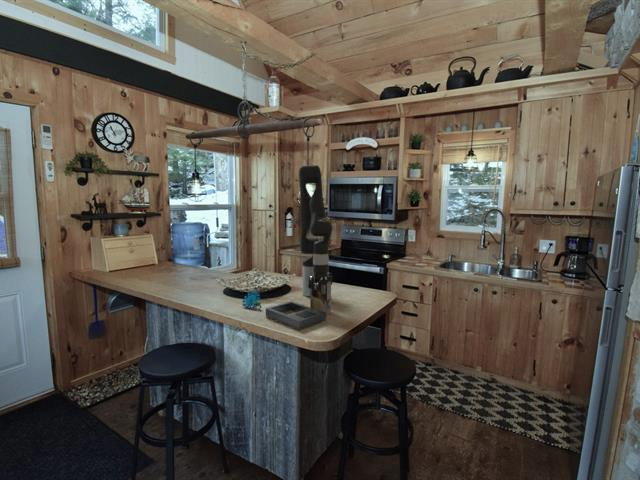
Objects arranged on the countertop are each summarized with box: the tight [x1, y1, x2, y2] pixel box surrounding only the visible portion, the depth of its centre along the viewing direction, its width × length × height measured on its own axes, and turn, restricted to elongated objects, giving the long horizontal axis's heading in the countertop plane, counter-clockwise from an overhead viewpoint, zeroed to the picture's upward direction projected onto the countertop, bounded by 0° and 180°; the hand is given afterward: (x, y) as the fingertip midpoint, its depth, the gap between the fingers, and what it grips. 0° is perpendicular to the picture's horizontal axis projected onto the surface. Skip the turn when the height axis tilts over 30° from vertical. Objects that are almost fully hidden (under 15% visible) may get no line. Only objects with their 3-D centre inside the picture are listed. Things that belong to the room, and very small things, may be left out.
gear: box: [242, 291, 262, 310], centre depth 177 cm, size 11×6×10 cm
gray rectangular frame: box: [265, 300, 327, 331], centre depth 159 cm, size 16×24×4 cm, turn 45°
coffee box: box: [309, 280, 332, 316], centre depth 168 cm, size 9×6×16 cm
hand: (320, 295), depth 168 cm, fingers open, 8 cm apart
